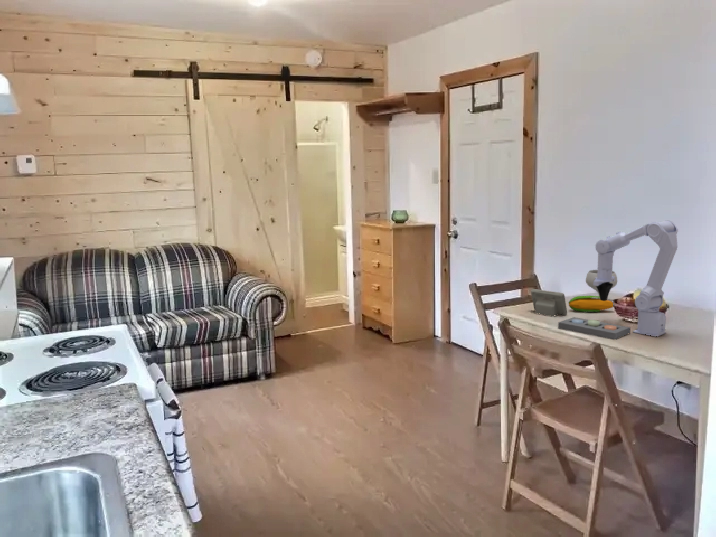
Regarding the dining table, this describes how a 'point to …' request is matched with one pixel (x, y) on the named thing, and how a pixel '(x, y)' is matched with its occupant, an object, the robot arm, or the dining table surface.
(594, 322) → the button sage
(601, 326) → the button panel
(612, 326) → the button terracotta
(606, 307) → the corn
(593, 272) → the chalice
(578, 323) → the button slate
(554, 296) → the digital clock
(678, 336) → the dining table surface
